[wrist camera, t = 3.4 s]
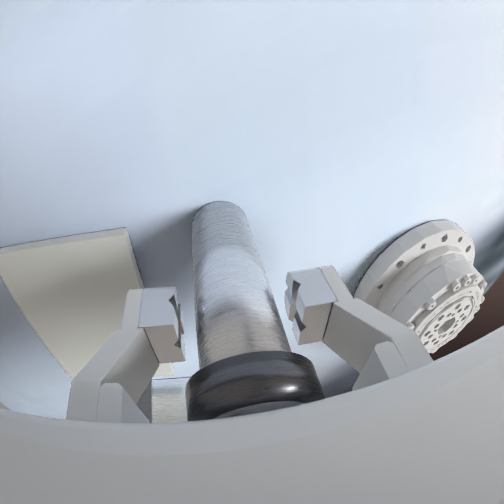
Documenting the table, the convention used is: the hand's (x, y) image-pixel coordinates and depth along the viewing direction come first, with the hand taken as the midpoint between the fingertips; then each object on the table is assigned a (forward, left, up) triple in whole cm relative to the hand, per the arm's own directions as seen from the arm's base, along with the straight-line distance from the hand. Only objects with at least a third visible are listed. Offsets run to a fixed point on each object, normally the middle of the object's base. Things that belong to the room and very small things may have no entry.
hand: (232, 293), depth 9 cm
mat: (+5, -8, -4) cm, 10 cm away
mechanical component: (+6, +13, -5) cm, 15 cm away
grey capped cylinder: (0, 0, -4) cm, 4 cm away
